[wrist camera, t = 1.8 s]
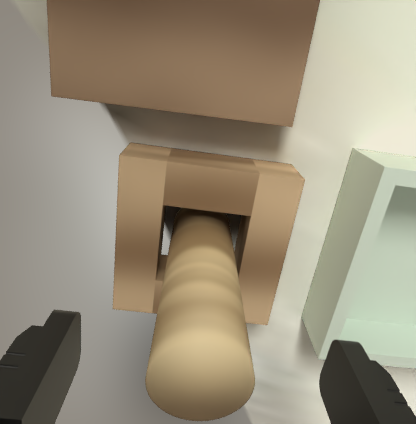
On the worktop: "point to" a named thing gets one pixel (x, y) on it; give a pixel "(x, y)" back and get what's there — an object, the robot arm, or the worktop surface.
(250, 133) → the worktop surface
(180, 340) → the dowel
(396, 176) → the tray
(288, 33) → the plate
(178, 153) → the holder block
